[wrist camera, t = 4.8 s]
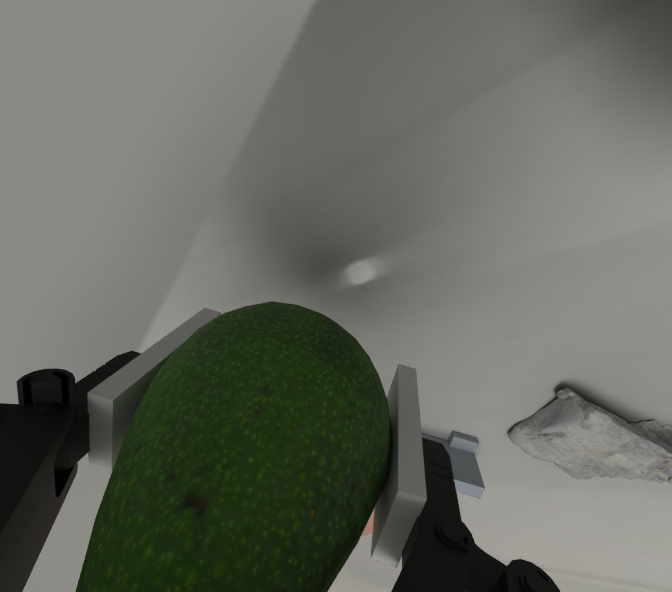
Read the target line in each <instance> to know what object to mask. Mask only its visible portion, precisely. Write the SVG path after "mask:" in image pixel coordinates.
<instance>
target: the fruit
mask: <svg viewBox="0 0 672 592" xmlns="http://www.w3.org/2000/svg"><path fill="white" fill-rule="evenodd" d="M391 441H392V426H391V418H390V411H389V404H388V401H387V398H386V395H385V392H384V389H383V386H382V383H381V380H380V378H379V375H378V373H377V371H376V369H375V367H374V365H373V363H372V361H371V359H370V357H369V355H368V354H367V353H366V352H365V350H364V349H363V348H362V346H361V345H360V344H359V342H358V341H357V340H356V339H355V338H354V337H353V336H352V335H351V334H350V333H348V332H347V331H346V330H345V329H343V328H342V327H341V326H340V325H338V324H337V323H336V322H334V321H333V320H331V319H330V318H328V317H326V316H325V315H323V314H321V313H318V312H315V311H313V310H310V309H307V308H304V307H301V306H299V305H293V304H286V303H279V302H272V301H271V302H266V303H261V304H256V305H251V306H246V307H242V308H239V309H236V310H233V311H230V312H227V313H224V314H222V315H220V316H218V317H217V318H215V319H213V320H212V321H210V322H208V323H207V324H205V325H204V326H202V327H200V328H199V329H197V330H196V331H195V332H194V333H193V334H192V335H191V336H190V337H189V338H188V339H187V340H186V341H185V342H184V343H183V344H182V345H181V346H180V347H179V348H178V349H177V350H176V351H175V352H174V353H173V354H172V355H170V356H169V358H168V359H167V360H166V362H165V363H164V364H163V366H162V367H161V368H160V370H159V371H158V372H157V374H156V375H155V376H154V378H153V380H152V382H151V383H150V385H149V387H148V389H147V391H146V393H145V394H144V396H143V398H142V400H141V402H140V404H139V406H138V407H137V409H136V411H135V413H134V415H133V417H132V419H131V421H130V424H129V427H128V430H127V432H126V435H125V438H124V441H123V443H122V446H121V449H120V452H119V454H118V457H117V460H116V463H115V465H114V468H113V471H112V474H111V477H110V479H109V482H108V485H107V488H106V490H105V493H104V496H103V499H102V502H101V504H100V507H99V510H98V513H97V516H96V519H95V522H94V526H93V530H92V534H91V537H90V541H89V545H88V549H87V553H86V556H85V560H84V563H83V567H82V571H81V574H80V578H79V581H78V585H77V589H76V592H327V591H328V590H329V588H330V586H331V585H332V583H333V582H334V580H335V578H336V577H337V575H338V574H339V572H340V570H341V569H342V567H343V566H344V564H345V562H346V561H347V559H348V557H349V556H350V554H351V553H352V551H353V549H354V548H355V546H356V545H357V543H358V541H359V539H360V537H361V535H362V533H363V531H364V529H365V527H366V525H367V523H368V521H369V518H370V516H371V514H372V512H373V510H374V508H375V506H376V503H377V501H378V499H379V497H380V494H381V492H382V489H383V487H384V485H385V482H386V480H387V477H388V472H389V462H390V452H391Z"/></svg>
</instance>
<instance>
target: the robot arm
mask: <svg viewBox="0 0 672 592" xmlns="http://www.w3.org/2000/svg"><path fill="white" fill-rule="evenodd" d="M220 315H221V313H220V312H217V311H214V310H210V309H207V308H204V309H203V310H201V311H200V312H198V313H197V314H196V315H194V316H193V317H191V318H190V319H189V320H187V321H186V322H185V323H183V324H182V325H180V326H179V327H178V328H176V329H175V330H174V331H172V332H171V333H169V334H168V335H167V336H165V337H164V338H162V339H161V340H160V341H158V342H157V343H156V344H154V345H153V346H151V347H150V348H149V349H147V350H146V351H144V352H143V353H142V354H141V353H138V352H134V351H130V352H127V353H124V354H121V355H118V356H116V357H114V358H113V359H111V360H110V361H108V362H107V363H106V364H105V365H103V366H101V367H99V368H98V369H96V371H93V372H92V373H91V374H89V375H87V376H86V377H85V378H83V379H81V380H80V381H78V382H77V383H75V377H74V375H73V374H72V373H71V372H68V371H67V370H63V369H43V370H38V371H34V372H31V373H29V374H27V375H24V376H23V377H22V378H20V379H19V380H18V381H17V390H18V400H19V404H1V403H0V592H22V591H23V589H24V587H25V585H26V582H27V580H28V578H29V576H30V574H31V571H32V569H33V567H34V565H35V563H36V561H37V559H38V556H39V554H40V552H41V550H42V548H43V545H44V543H45V541H46V539H47V537H48V535H49V532H50V530H51V528H52V526H53V524H54V522H55V519H56V517H57V515H58V513H59V511H60V508H61V506H62V504H63V502H64V500H65V498H66V495H67V493H68V491H69V489H70V487H71V485H72V482H73V480H74V478H75V476H76V473H77V468H78V464H77V462H78V461H79V460H80V459H81V458H82V457H83V456H85V455H86V454H87V453H88V456H89V467H92V468H95V469H98V470H101V471H105V472H107V473H111V474H112V471H113V468H114V465H115V463H116V460H117V457H118V454H119V452H120V449H121V446H122V443H123V441H124V438H125V435H126V432H127V430H128V427H129V424H130V421H131V419H132V417H133V415H134V413H135V411H136V409H137V407H138V406H139V404H140V402H141V400H142V398H143V396H144V394H145V393H146V391H147V389H148V387H149V385H150V383H151V382H152V380H153V378H154V376H155V375H156V374H157V372H158V371H159V370H160V368H161V367H162V366H163V364H164V363H165V362H166V360H167V359H168V358H169V356H170V355H172V354H173V353H174V352H175V351H176V350H177V349H178V348H179V347H180V346H181V345H182V344H183V343H184V342H185V341H186V340H187V339H188V338H189V337H190V336H191V335H192V334H193V333H194V332H195V331H196V330H197V329H199V328H200V327H202V326H204V325H205V324H207V323H208V322H210V321H212V320H213V319H215V318H217V317H218V316H220ZM387 401H388V404H389V411H390V418H391V426H392V441H391V452H390V462H389V472H388V477H387V480H386V482H385V485H384V487H383V489H382V492H381V494H380V497H379V499H378V501H377V503H376V506H375V508H374V521H373V535H372V549H371V559H372V560H375V561H378V562H381V563H384V564H387V565H390V566H393V567H396V568H397V566H398V563H399V561H400V559H401V557H402V571H401V573H400V575H399V577H398V579H397V581H396V583H395V585H394V587H393V589H392V592H560V590H559V589H558V587H557V586H556V584H555V583H554V581H553V580H552V579H551V578H550V577H549V576H548V575H547V574H546V573H545V572H544V571H543V570H542V569H541V568H539V567H538V566H536V565H534V564H533V563H531V562H529V561H525V560H522V559H518V560H512V561H511V562H510V564H509V565H508V566H506V565H504V564H503V563H501V562H500V561H498V560H496V559H495V558H493V557H492V556H490V555H489V554H487V553H486V552H484V551H483V550H482V549H480V548H479V547H478V546H477V545H476V544H475V542H474V539H473V537H472V534H471V532H470V531H469V529H468V528H467V527H466V525H465V524H464V523H463V522H462V521H461V516H460V510H459V504H458V499H457V493H456V487H455V482H454V476H453V471H452V465H451V459H450V455H449V454H448V452H447V450H446V449H445V447H444V446H443V444H442V443H439V442H436V441H432V440H429V439H426V438H423V437H422V435H421V423H420V411H419V399H418V387H417V375H416V369H414V368H411V367H407V366H404V365H401V364H398V367H397V370H396V373H395V376H394V379H393V382H392V385H391V388H390V390H389V393H388V396H387Z"/></svg>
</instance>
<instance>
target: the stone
mask: <svg viewBox="0 0 672 592" xmlns="http://www.w3.org/2000/svg"><path fill="white" fill-rule="evenodd" d="M557 397H558V399H556V400H554V401H553V402H552V403H551V404H550V405H548V406H546V407H544V408H542V409H541V410H539V411H538V412H537V413H535V414H534V415H533V416H531V417H530V418H528V419H527V420H525V421H523V422H520V423H518V424H517V425H516V426H515V427H514V428H513V430H512V431H511V432H510V433H509V438H510V440H511V441H512V442H513V443H514V444H516V445H518V446H520V447H521V448H522V449H523V450H524V452H526V453H528V454H530V455H532V456H533V457H534V458H537V459H541V460H545V461H550V462H553V463H555V464H556V465H557V466H558V467H559V468H560V469H562V470H563V471H564V472H566V473H568V474H569V475H570V476H572V477H574V478H577V479H591V478H592V477H596V476H600V477H605V476H608V477H610V478H615V477H624V478H626V479H633V478H640V479H644V480H646V481H651V482H653V481H656V482H661V483H662V482H663V481H668V482H669V483H671V484H672V426H670V425H665V426H661V425H660V424H659V423H658V422H657V421H656V420H652V421H648V422H646V421H642V422H639V423H629V424H628V423H627V422H626V421H624V420H623V419H621V418H619V417H617V416H615V415H613V414H612V413H610V412H608V411H606V410H604V409H603V408H601V407H599V406H597V405H595V404H592V403H589V402H587V401H586V400H584V399H583V398H582V397H580V396H579V395H578V394H576V393H575V392H574V391H572V390H571V389H569V388H567V387H566V388H564V389H563V390H560V391H559V392H558V393H557Z"/></svg>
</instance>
